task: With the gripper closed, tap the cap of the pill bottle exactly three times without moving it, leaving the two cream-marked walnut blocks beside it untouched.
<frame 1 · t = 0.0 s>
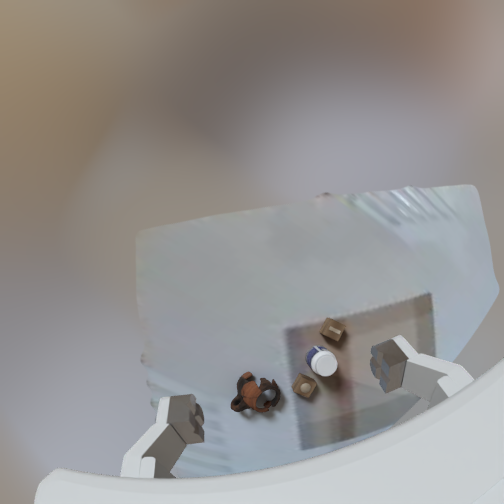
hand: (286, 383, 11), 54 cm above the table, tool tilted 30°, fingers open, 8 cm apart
pottery mug: (253, 390, 62), on the table
pill bottle: (316, 355, 63), on the table
walnut block bar: (330, 328, 64), on the table
walnut block dot: (302, 382, 62), on the table
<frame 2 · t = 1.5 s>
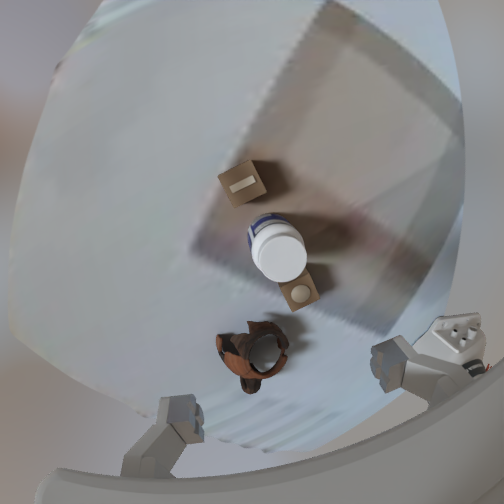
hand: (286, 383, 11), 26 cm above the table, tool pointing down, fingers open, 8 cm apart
pottery mug: (249, 343, 41), on the table
pill bottle: (269, 233, 36), on the table
walnut block bar: (241, 181, 34), on the table
walnut block dot: (294, 280, 38), on the table
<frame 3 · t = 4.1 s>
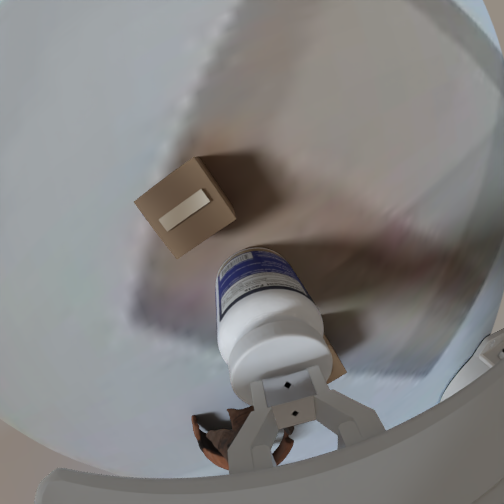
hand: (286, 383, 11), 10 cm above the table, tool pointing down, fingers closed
pottery mug: (239, 419, 27), on the table
pill bottle: (254, 280, 21), on the table
walnut block bar: (191, 198, 18), on the table
walnut block dot: (302, 342, 23), on the table
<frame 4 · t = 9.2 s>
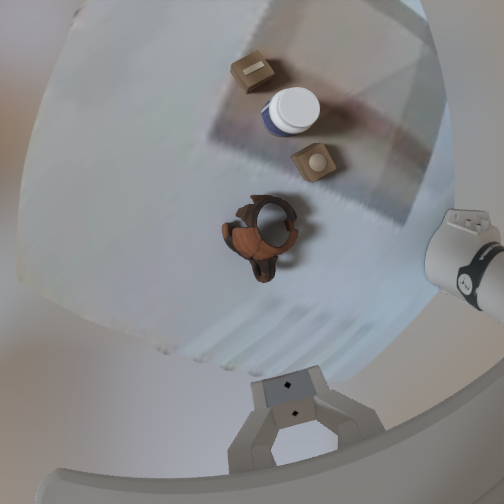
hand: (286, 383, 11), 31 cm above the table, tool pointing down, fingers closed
pottery mug: (256, 232, 42), on the table
pill bottle: (280, 118, 36), on the table
walnut block bar: (250, 76, 34), on the table
walnut block dot: (308, 161, 39), on the table
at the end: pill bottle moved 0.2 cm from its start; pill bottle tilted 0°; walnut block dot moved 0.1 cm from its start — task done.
